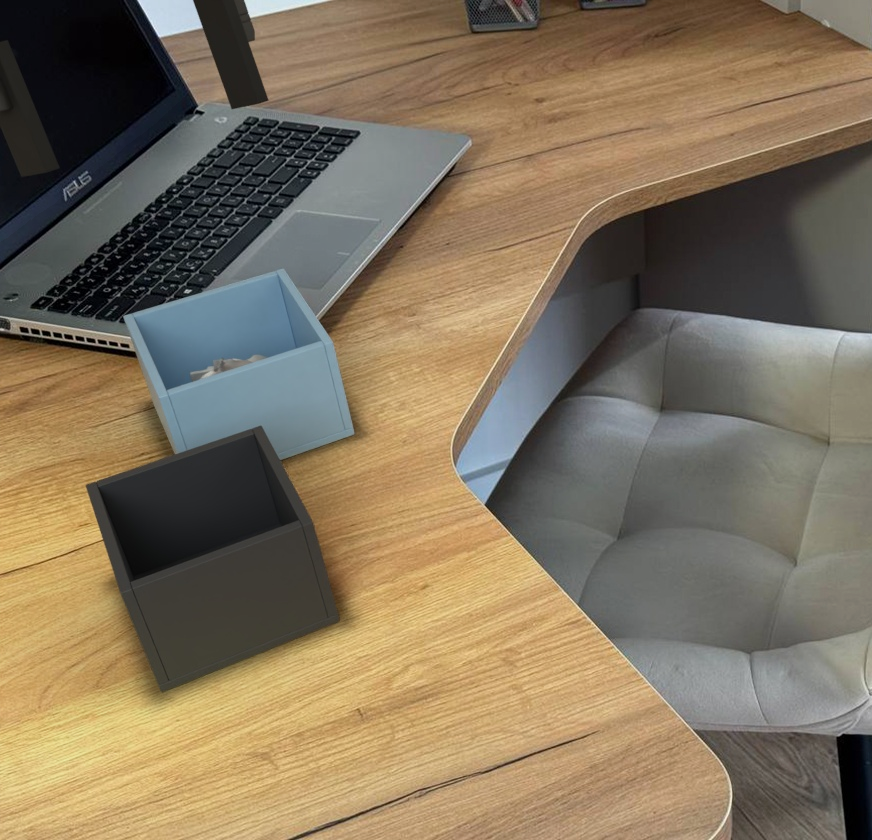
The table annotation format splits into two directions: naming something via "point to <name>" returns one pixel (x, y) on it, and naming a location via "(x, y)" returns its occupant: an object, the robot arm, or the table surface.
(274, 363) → the paper bin
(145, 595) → the waste bin
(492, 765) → the table surface
